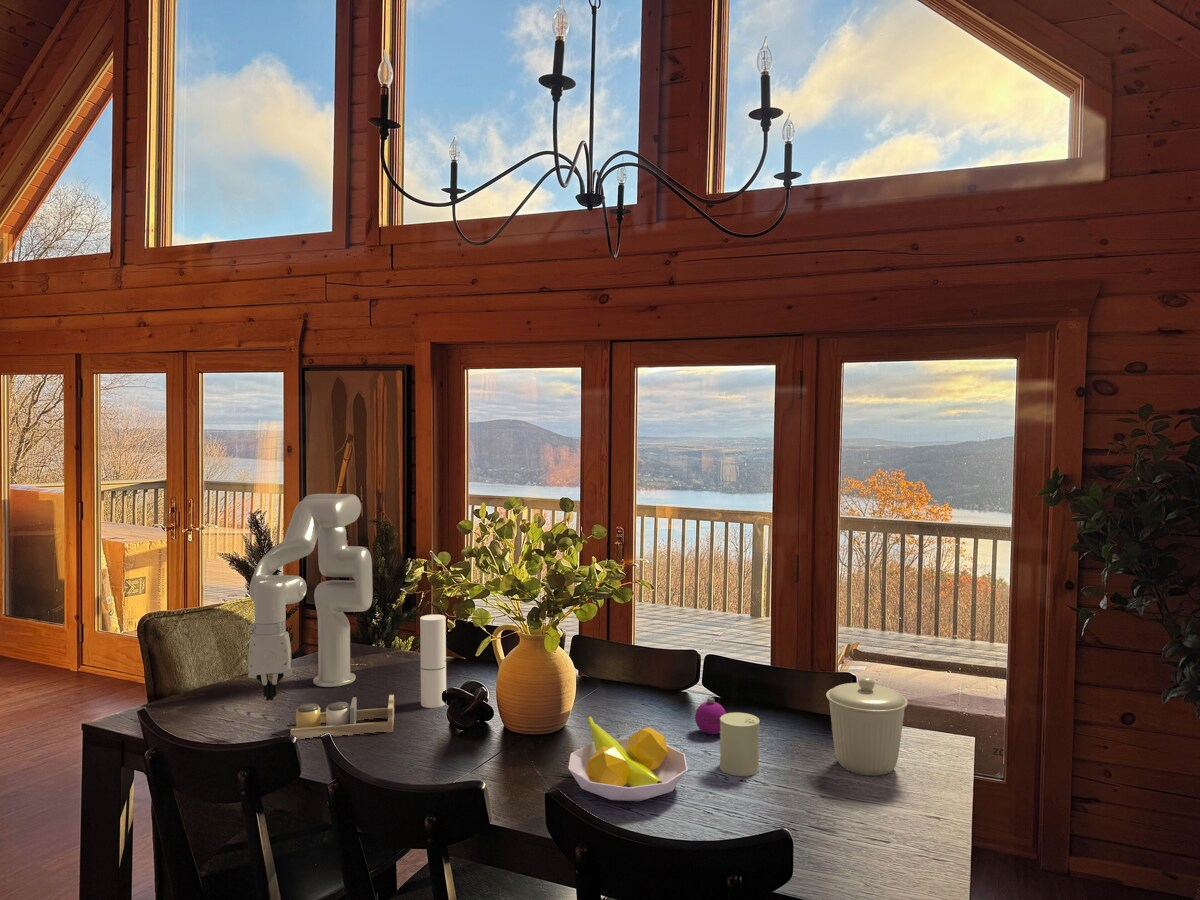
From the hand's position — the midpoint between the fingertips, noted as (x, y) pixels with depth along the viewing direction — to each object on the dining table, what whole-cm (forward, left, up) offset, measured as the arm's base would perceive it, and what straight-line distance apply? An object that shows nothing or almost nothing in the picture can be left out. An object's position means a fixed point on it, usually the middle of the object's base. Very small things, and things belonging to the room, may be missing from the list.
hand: (270, 698), depth 212 cm
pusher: (-1, +21, -9) cm, 22 cm away
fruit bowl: (+49, +83, -10) cm, 97 cm away
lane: (-1, +19, -9) cm, 21 cm away
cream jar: (-1, +17, -9) cm, 19 cm away
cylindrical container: (-15, +42, -9) cm, 45 cm away
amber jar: (-1, +9, -9) cm, 13 cm away
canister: (+52, +140, -9) cm, 149 cm away
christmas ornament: (+24, +112, -9) cm, 115 cm away
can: (+46, +111, -9) cm, 120 cm away
